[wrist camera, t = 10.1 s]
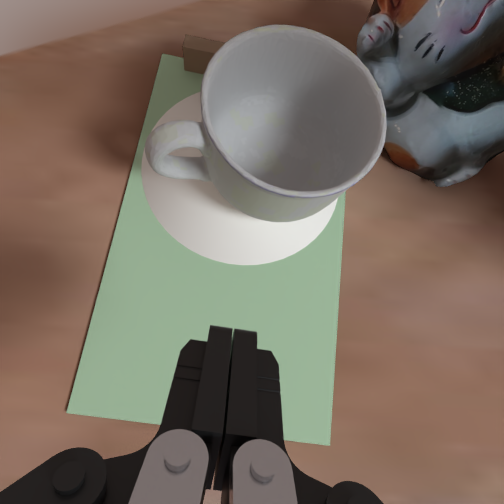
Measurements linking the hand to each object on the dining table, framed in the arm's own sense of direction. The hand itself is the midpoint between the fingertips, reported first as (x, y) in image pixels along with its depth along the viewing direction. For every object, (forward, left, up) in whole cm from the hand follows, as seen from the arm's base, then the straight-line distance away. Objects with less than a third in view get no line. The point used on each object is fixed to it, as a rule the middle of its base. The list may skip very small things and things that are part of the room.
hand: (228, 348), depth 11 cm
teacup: (0, -13, -12) cm, 18 cm away
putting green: (0, -9, -12) cm, 15 cm away
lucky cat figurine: (-14, -22, -12) cm, 29 cm away
